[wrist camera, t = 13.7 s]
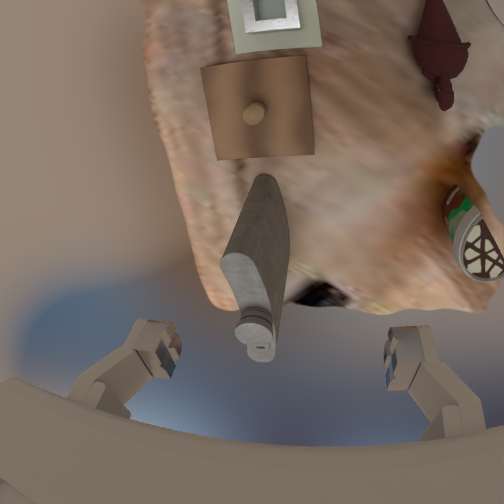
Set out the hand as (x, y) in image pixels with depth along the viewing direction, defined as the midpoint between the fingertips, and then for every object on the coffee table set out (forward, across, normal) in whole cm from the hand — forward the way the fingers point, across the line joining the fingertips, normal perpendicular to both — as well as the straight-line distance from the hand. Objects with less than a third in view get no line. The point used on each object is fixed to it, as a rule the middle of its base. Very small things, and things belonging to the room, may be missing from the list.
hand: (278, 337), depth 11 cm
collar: (+31, +2, -15) cm, 34 cm away
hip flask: (+31, +5, +14) cm, 35 cm away
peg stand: (+31, +5, -3) cm, 32 cm away
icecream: (+31, -16, -11) cm, 37 cm away
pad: (+31, +2, -15) cm, 35 cm away
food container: (+31, -22, +13) cm, 40 cm away
